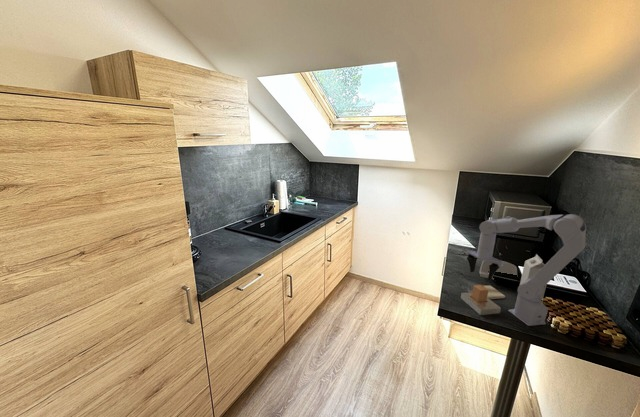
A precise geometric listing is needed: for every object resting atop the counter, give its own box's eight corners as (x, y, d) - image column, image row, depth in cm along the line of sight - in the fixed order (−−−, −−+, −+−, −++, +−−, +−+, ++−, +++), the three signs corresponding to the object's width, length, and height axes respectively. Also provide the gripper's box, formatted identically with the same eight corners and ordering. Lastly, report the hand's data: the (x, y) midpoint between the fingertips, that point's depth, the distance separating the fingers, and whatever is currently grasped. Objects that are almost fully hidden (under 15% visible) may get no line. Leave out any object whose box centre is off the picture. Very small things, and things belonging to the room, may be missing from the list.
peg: (485, 306, 112) (488, 289, 110) (476, 307, 112) (480, 290, 110) (478, 300, 116) (481, 284, 114) (470, 301, 116) (473, 285, 114)
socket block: (499, 313, 108) (501, 307, 107) (480, 315, 107) (481, 309, 106) (478, 296, 120) (479, 291, 119) (460, 297, 118) (461, 293, 118)
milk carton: (536, 292, 123) (546, 255, 118) (542, 301, 117) (552, 262, 112) (518, 289, 126) (526, 252, 121) (523, 297, 119) (532, 259, 114)
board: (504, 297, 119) (505, 295, 118) (486, 299, 117) (487, 297, 117) (489, 287, 127) (490, 285, 127) (472, 288, 126) (473, 286, 126)
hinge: (479, 276, 137) (481, 257, 138) (478, 275, 142) (480, 257, 142) (518, 284, 130) (520, 264, 131) (515, 282, 135) (517, 263, 135)
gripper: (509, 250, 111) (503, 279, 114) (473, 239, 122) (469, 266, 126) (501, 254, 107) (495, 284, 110) (465, 242, 119) (461, 270, 122)
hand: (480, 275), depth 118 cm, fingers open, 7 cm apart
